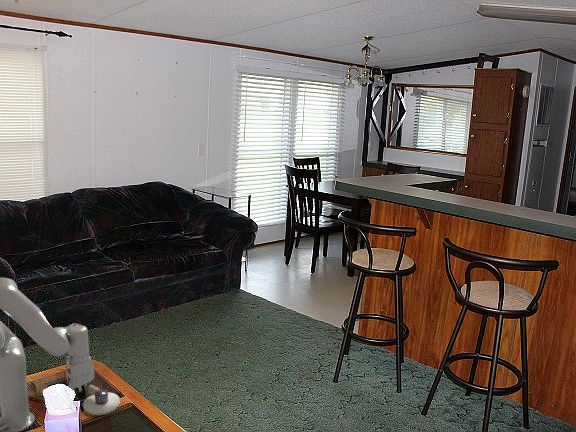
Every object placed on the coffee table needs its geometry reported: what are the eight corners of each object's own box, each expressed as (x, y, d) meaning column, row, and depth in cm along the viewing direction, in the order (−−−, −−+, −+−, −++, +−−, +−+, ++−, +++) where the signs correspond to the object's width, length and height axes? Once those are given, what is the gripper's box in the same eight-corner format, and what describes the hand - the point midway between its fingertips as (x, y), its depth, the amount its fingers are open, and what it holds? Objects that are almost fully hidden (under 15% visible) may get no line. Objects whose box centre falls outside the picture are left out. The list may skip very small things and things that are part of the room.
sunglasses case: (17, 398, 225) (22, 381, 227) (28, 397, 231) (33, 381, 233) (55, 406, 221) (60, 389, 222) (65, 405, 227) (70, 389, 229)
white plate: (121, 411, 219) (121, 407, 219) (84, 418, 214) (84, 414, 213) (118, 392, 231) (117, 389, 231) (82, 399, 226) (82, 395, 226)
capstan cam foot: (110, 400, 223) (110, 390, 222) (100, 406, 219) (100, 395, 218) (95, 392, 228) (94, 382, 227) (85, 398, 224) (84, 387, 222)
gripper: (68, 367, 207) (71, 410, 211) (100, 352, 219) (103, 393, 224) (56, 361, 211) (59, 403, 215) (88, 346, 223) (91, 387, 227)
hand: (81, 398), depth 219 cm, fingers closed
